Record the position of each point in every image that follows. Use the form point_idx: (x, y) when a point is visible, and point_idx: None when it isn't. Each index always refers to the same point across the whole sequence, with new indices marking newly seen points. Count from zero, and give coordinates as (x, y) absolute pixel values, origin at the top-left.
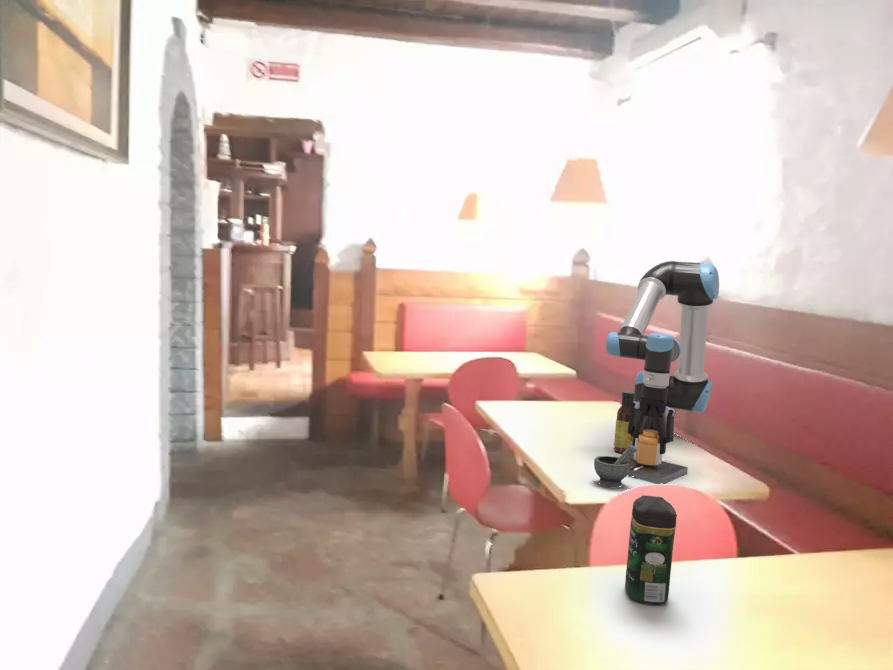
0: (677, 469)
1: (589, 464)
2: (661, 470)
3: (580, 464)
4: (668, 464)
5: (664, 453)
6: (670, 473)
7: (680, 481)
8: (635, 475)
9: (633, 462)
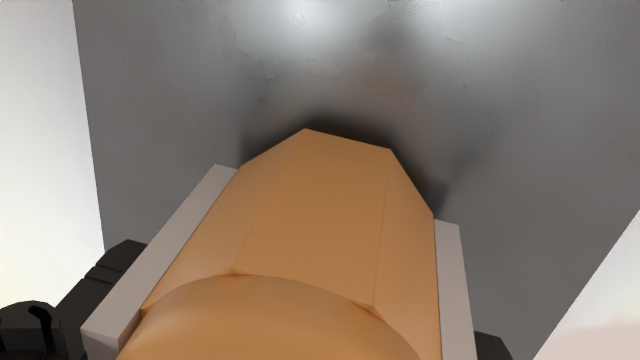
0: (625, 171)
1: (24, 233)
2: (470, 280)
3: (3, 259)
4: (524, 37)
5: (499, 345)
6: (548, 315)
7: (622, 263)
8: None
9: None
